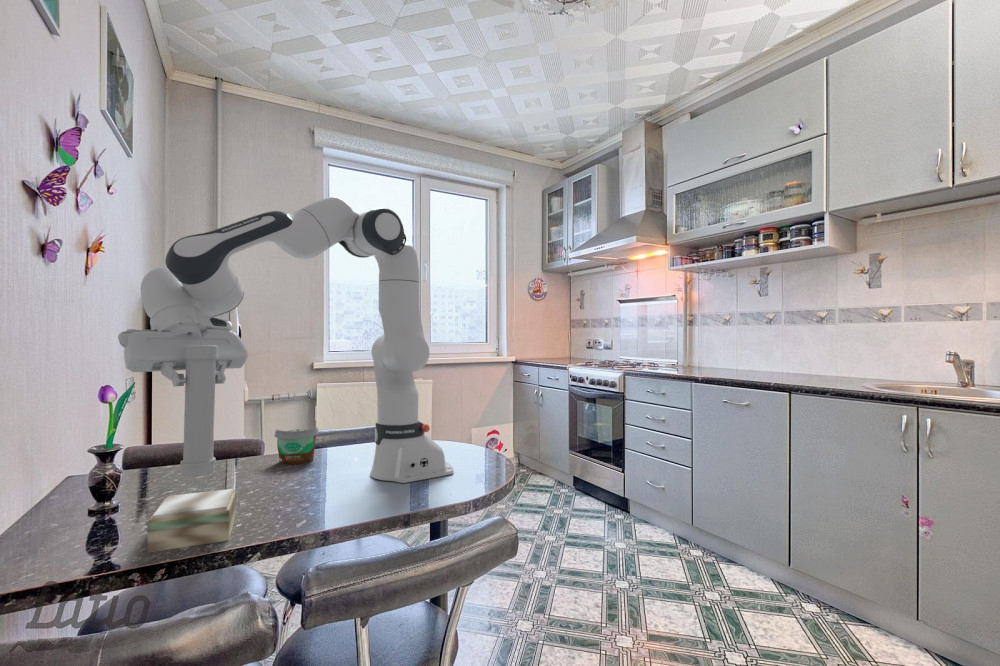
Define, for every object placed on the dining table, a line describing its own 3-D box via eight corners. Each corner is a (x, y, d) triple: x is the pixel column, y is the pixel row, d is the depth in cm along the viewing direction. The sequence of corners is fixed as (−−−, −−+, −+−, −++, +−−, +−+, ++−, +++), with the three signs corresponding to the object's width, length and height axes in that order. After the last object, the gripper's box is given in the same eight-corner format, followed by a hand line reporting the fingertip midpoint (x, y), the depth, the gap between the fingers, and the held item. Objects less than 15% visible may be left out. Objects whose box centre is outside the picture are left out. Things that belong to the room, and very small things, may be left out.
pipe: (198, 479, 83) (202, 314, 83) (169, 476, 84) (173, 313, 84) (222, 470, 88) (226, 315, 89) (194, 468, 89) (198, 315, 90)
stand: (235, 517, 94) (236, 487, 94) (228, 541, 83) (229, 507, 83) (164, 526, 89) (165, 495, 89) (146, 553, 78) (147, 517, 78)
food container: (272, 468, 130) (273, 432, 130) (273, 462, 135) (274, 429, 136) (319, 463, 135) (319, 430, 135) (318, 458, 140) (319, 426, 141)
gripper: (120, 317, 82) (138, 374, 76) (238, 322, 99) (260, 369, 93) (111, 341, 85) (128, 399, 79) (228, 342, 101) (249, 389, 96)
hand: (201, 382), depth 86 cm, fingers closed on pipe, 5 cm apart
